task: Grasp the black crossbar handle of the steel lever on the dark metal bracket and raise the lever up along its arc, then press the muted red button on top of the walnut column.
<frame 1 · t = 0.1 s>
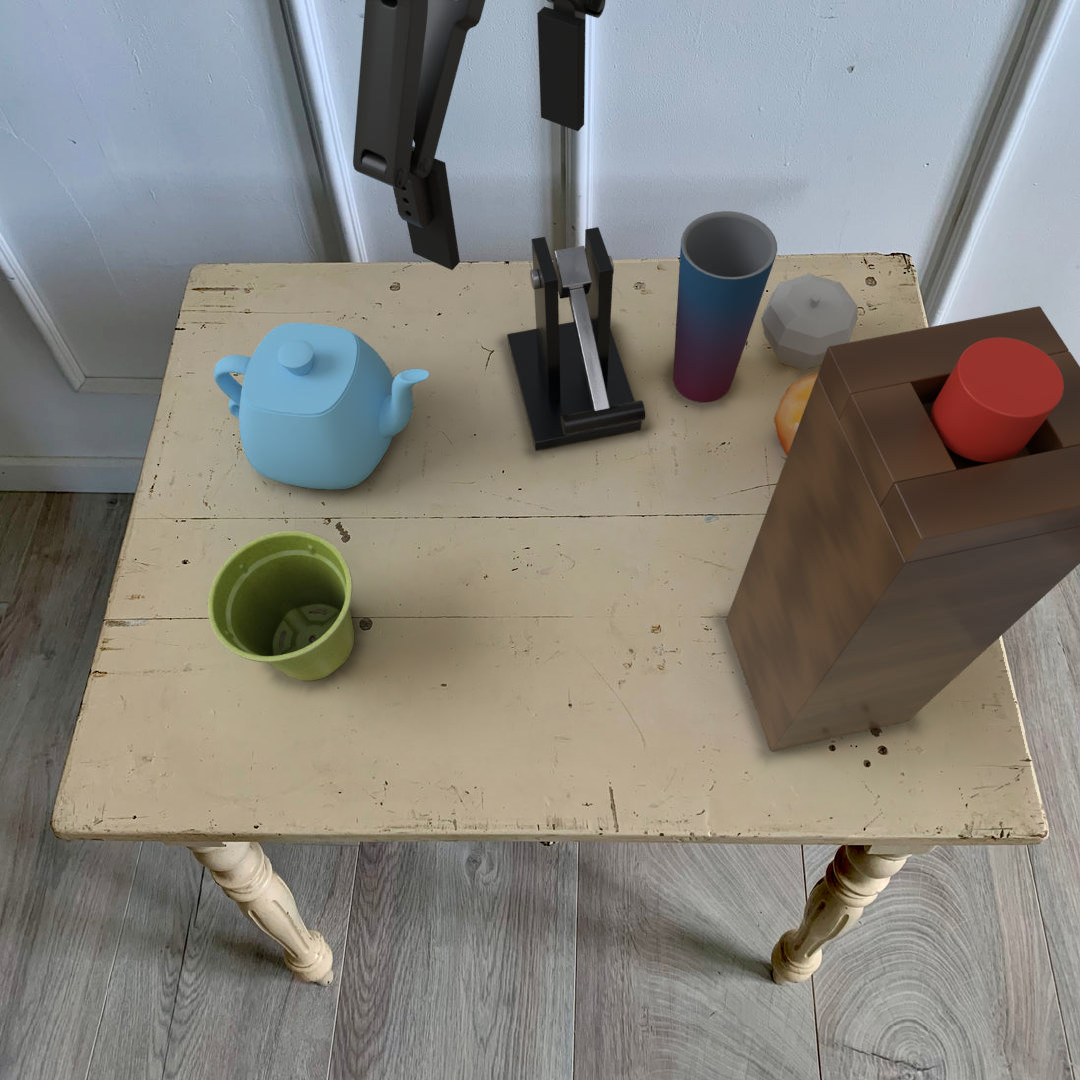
hand: (502, 186, 52), 25 cm above the table, tool pointing down, fingers open, 13 cm apart
cup: (701, 380, 76), on the table
lever: (586, 340, 65), point 11 cm above the table, hinge at -25.0°
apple: (797, 353, 77), on the table
bracket: (572, 385, 76), on the table
teapot: (343, 440, 74), on the table
fruit: (816, 449, 72), on the table
plant pot: (314, 644, 66), on the table
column: (814, 669, 63), on the table
button: (994, 400, 36), point 31 cm above the table, slide at 0.2 cm
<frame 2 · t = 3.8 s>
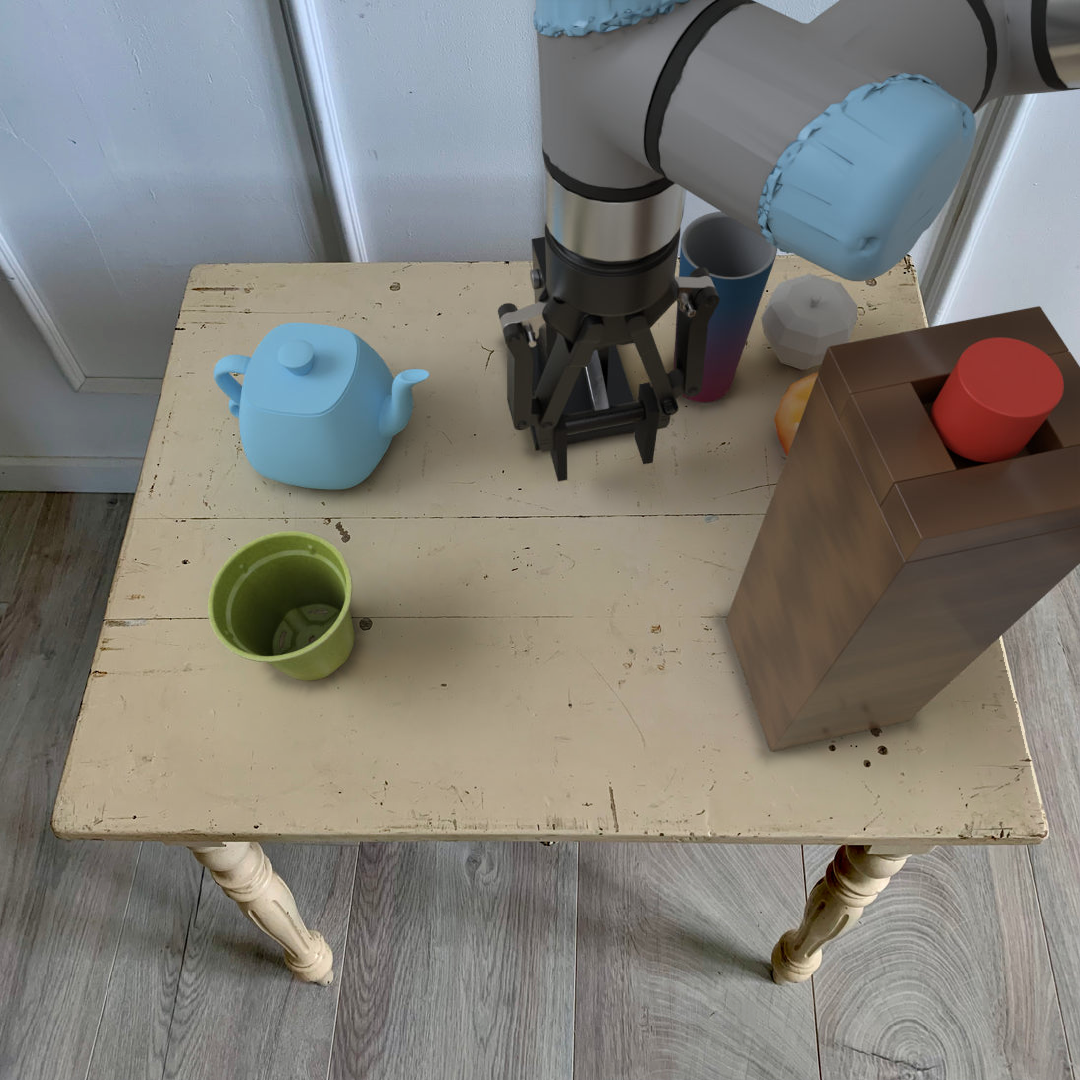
hand: (601, 457, 69), 3 cm above the table, tool pointing down, fingers closed on lever, 6 cm apart
lever: (586, 340, 65), point 11 cm above the table, hinge at -25.0°, touching gripper
everything else where it was.
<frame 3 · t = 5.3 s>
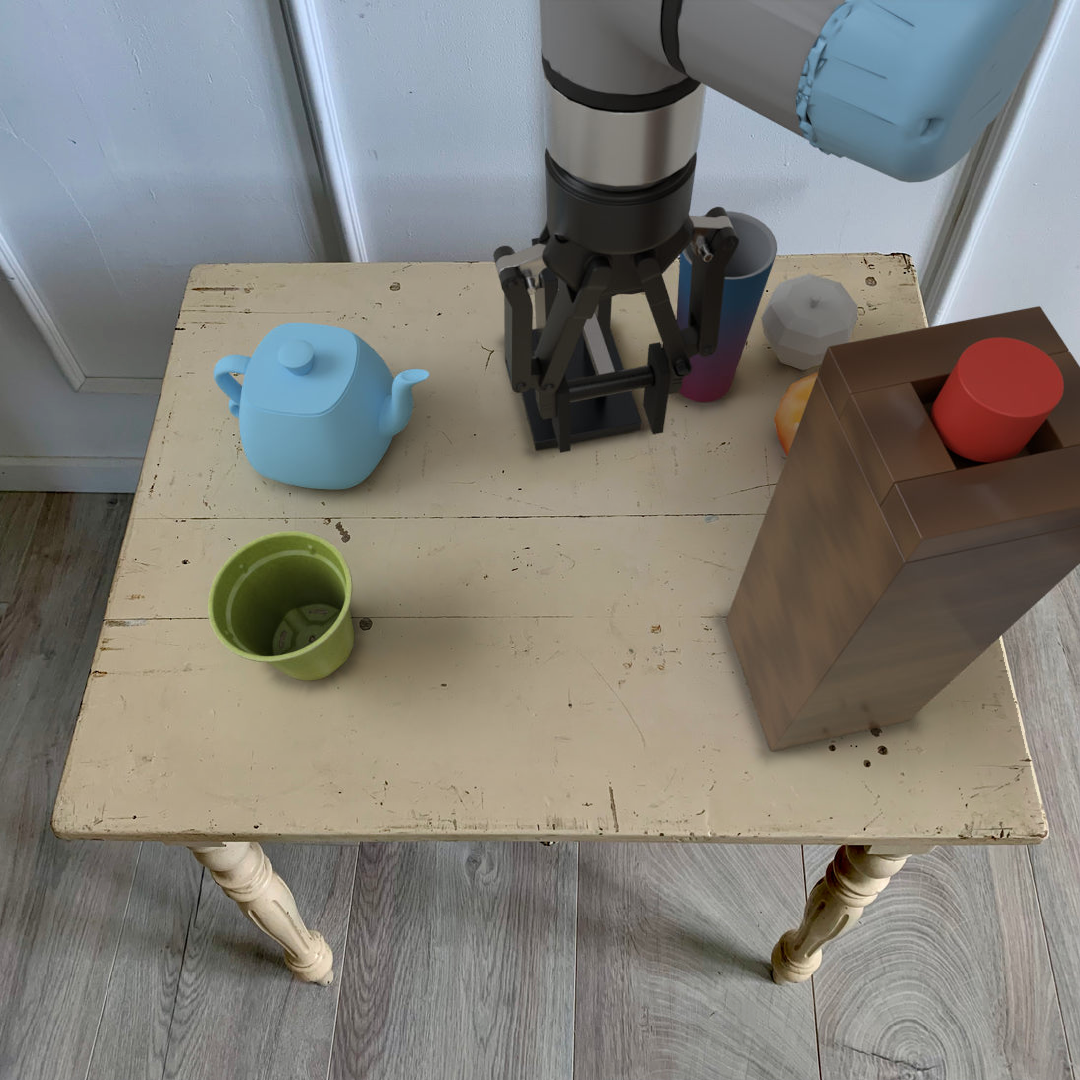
hand: (607, 427, 63), 9 cm above the table, tool pointing down, fingers closed on lever, 6 cm apart
lever: (588, 322, 62), point 13 cm above the table, hinge at 2.4°, touching gripper
everything else where it was.
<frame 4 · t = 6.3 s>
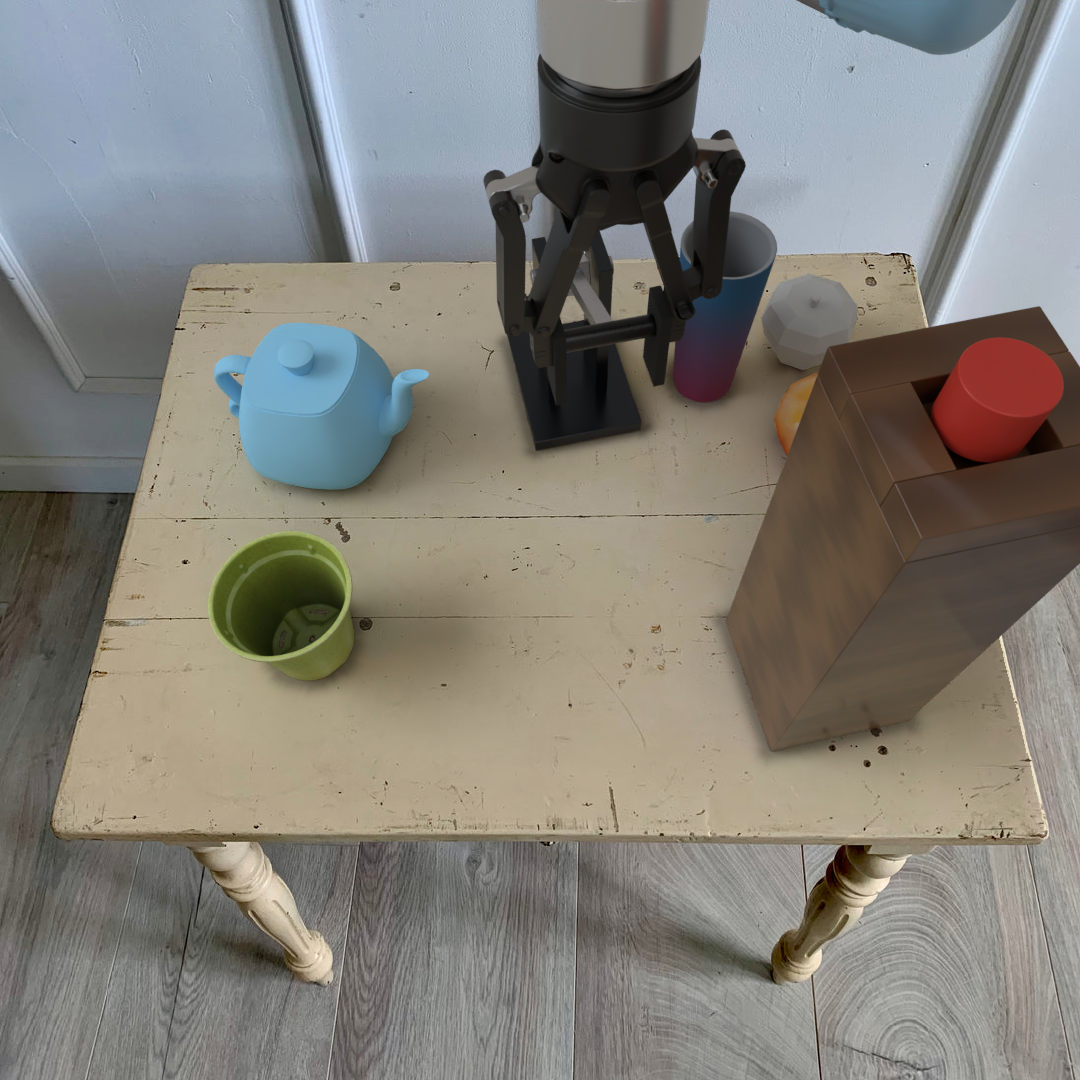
hand: (605, 379, 60), 13 cm above the table, tool pointing down, fingers closed on lever, 6 cm apart
lever: (587, 299, 61), point 15 cm above the table, hinge at 23.4°, touching gripper
everything else where it was.
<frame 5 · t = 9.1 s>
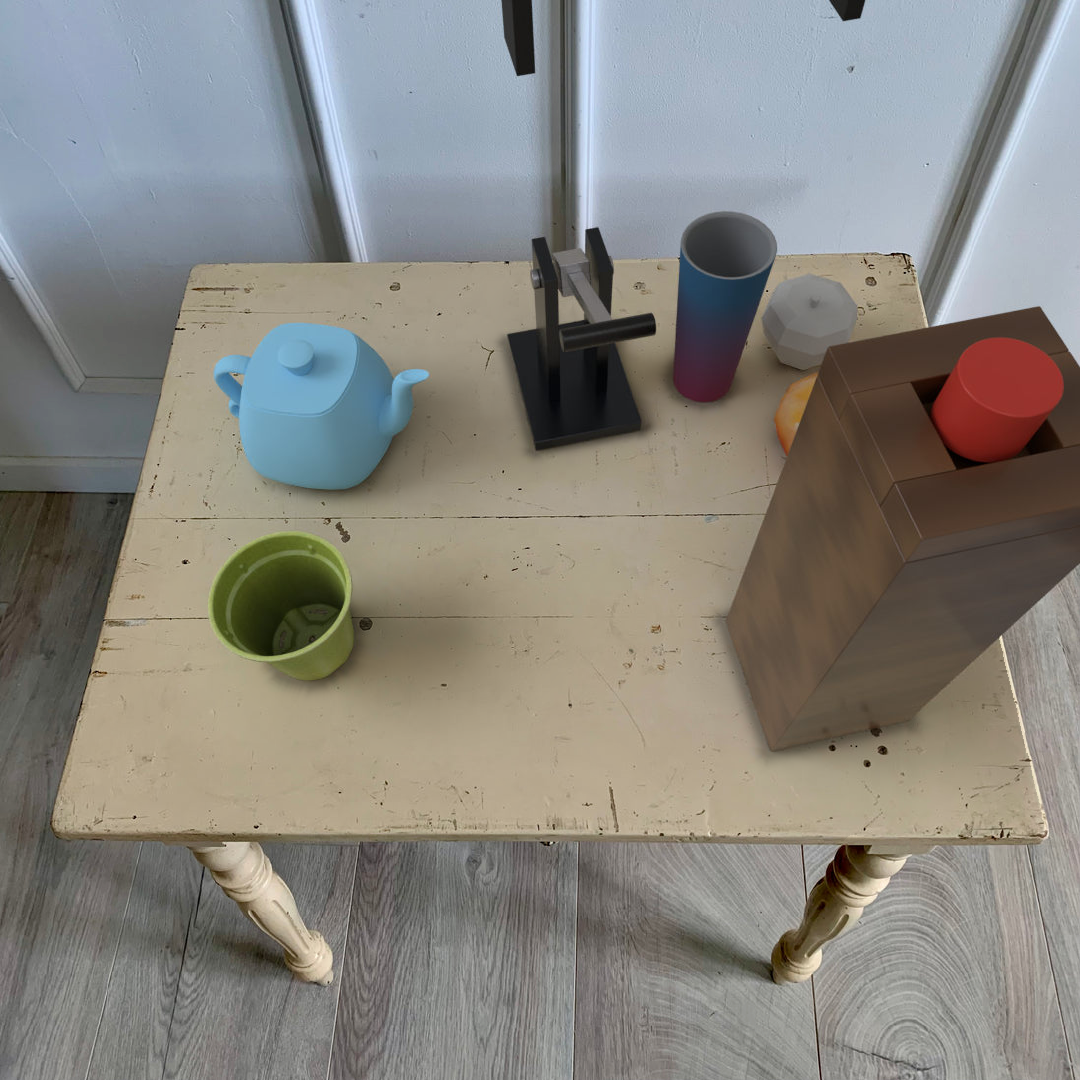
hand: (681, 29, 36), 38 cm above the table, tool pointing down, fingers open, 13 cm apart
lever: (587, 298, 61), point 15 cm above the table, hinge at 23.8°
everything else where it was.
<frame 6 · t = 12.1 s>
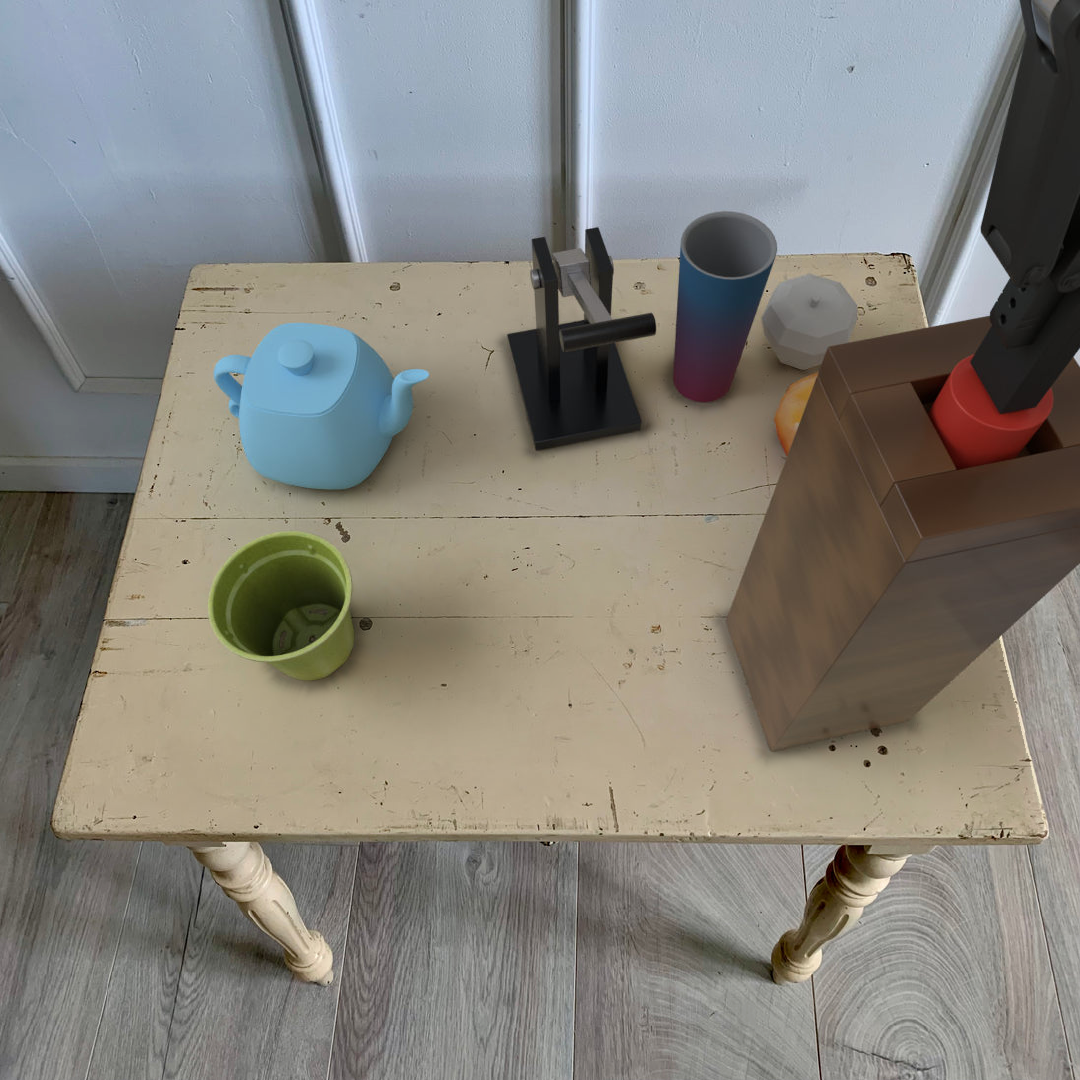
hand: (1002, 384, 35), 32 cm above the table, tool pointing down, fingers closed
button: (985, 413, 37), point 30 cm above the table, slide at -0.7 cm, touching gripper
everything else where it was.
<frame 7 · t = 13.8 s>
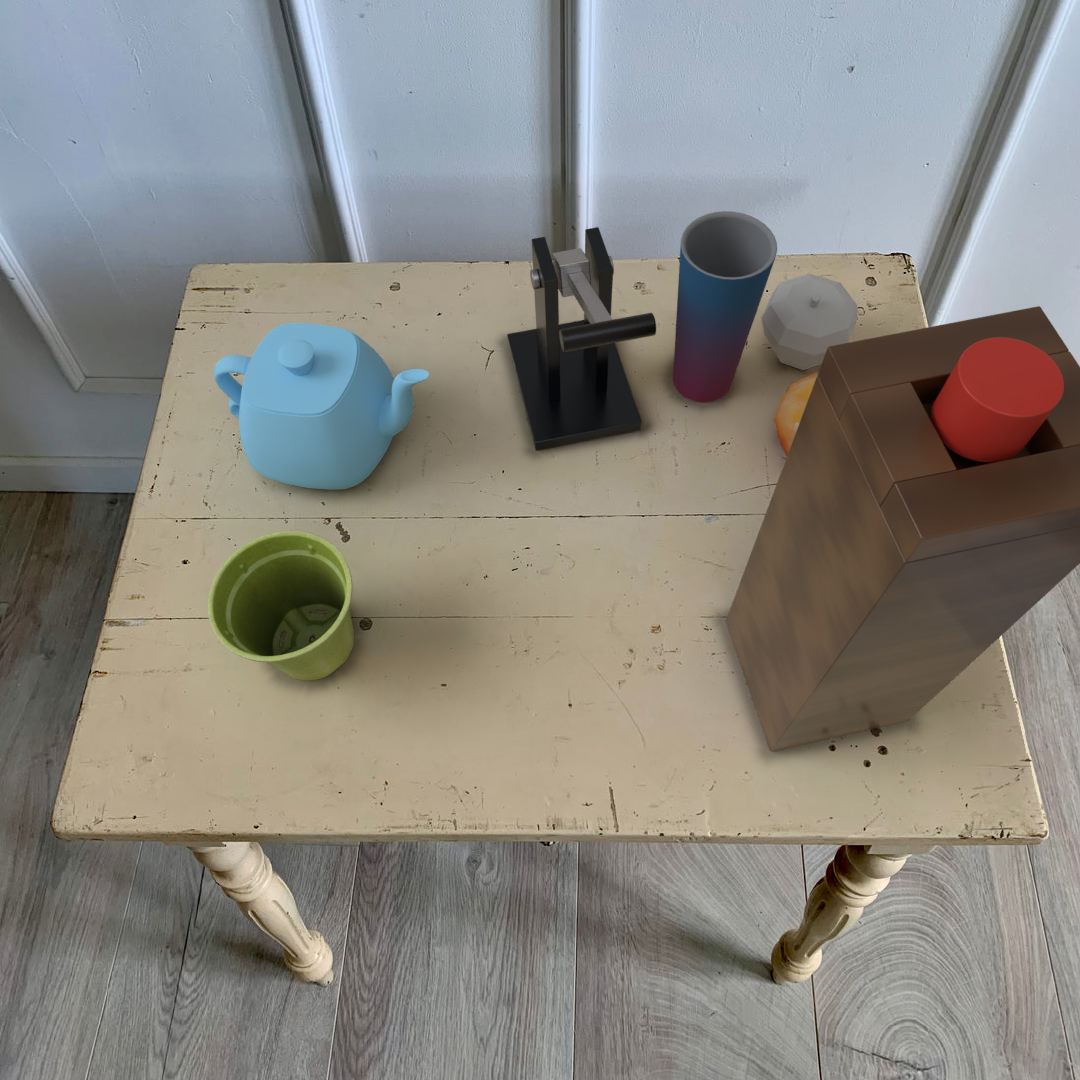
button: (994, 400, 36), point 31 cm above the table, slide at 0.2 cm
everything else where it was.
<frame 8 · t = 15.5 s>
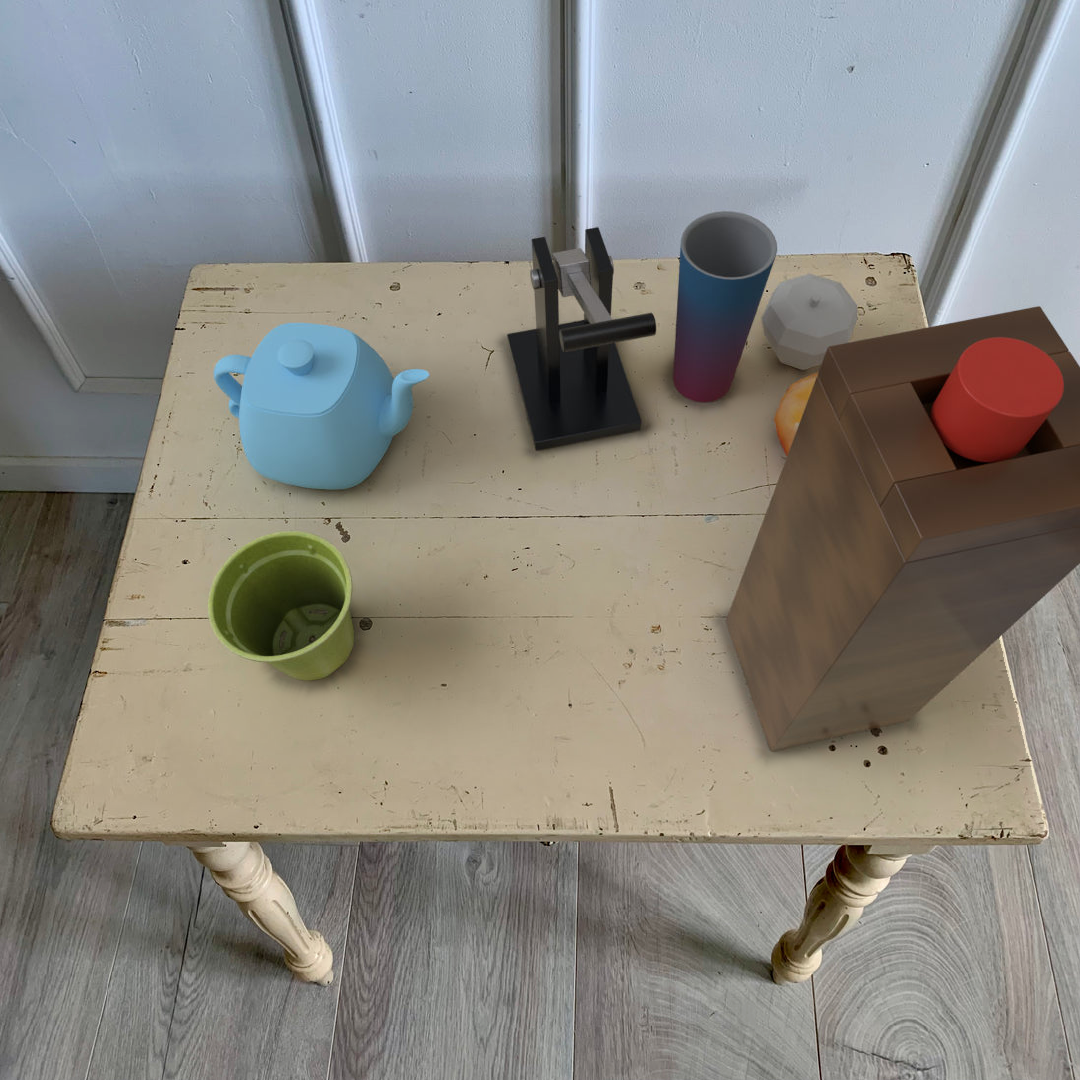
nothing on the table moved.
at the end: lever at +24° (first picture: -25°); button pushed in 0.9 cm at the most during the clip, back to 0.2 cm at the end; button slide at 0.2 cm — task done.
